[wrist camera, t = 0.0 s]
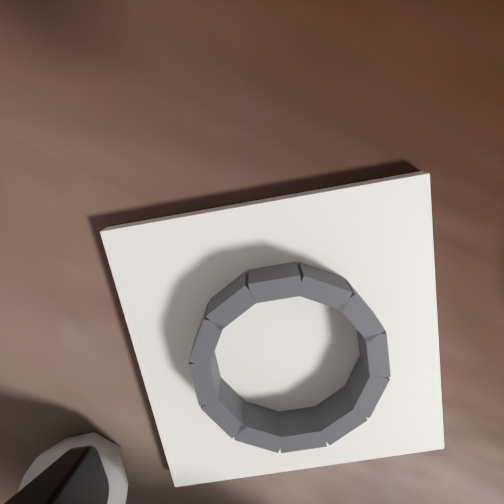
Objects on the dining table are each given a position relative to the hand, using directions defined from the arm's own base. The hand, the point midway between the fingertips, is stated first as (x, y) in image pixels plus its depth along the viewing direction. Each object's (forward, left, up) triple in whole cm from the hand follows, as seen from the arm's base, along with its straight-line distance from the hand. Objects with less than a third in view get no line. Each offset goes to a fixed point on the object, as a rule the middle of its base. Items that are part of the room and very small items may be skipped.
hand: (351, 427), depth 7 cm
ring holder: (-6, +1, -15) cm, 16 cm away
